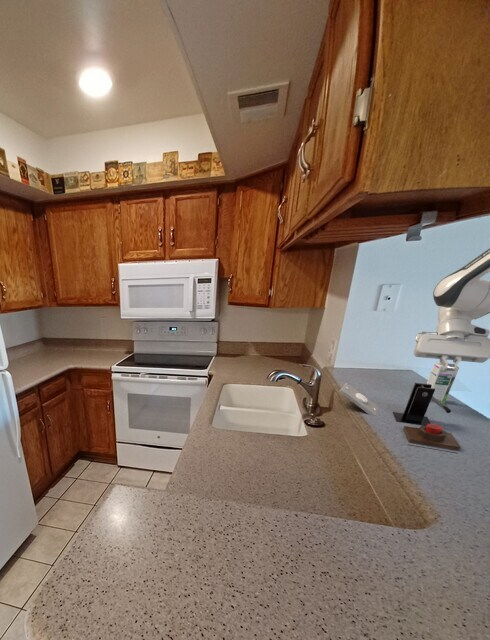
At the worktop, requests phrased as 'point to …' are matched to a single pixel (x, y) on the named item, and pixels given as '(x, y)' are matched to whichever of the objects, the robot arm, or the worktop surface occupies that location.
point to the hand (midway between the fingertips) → (449, 369)
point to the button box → (431, 438)
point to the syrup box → (441, 381)
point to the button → (434, 428)
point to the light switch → (359, 400)
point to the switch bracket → (417, 406)
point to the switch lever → (439, 403)
